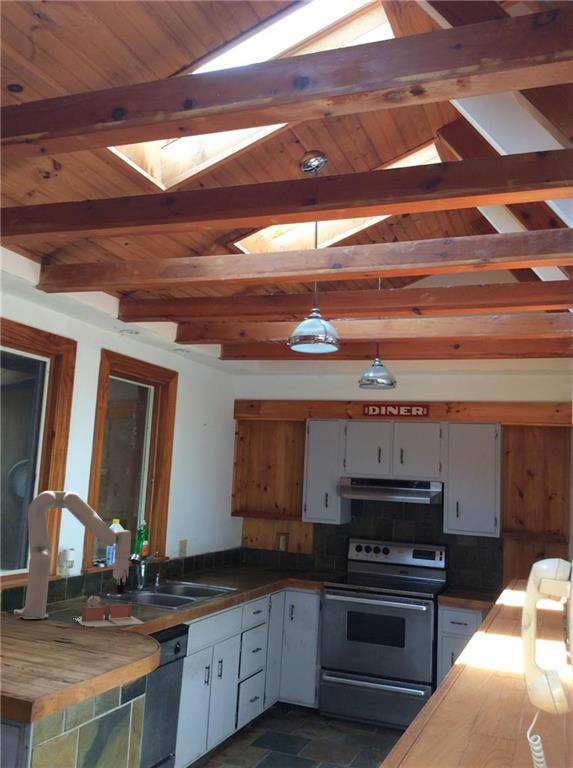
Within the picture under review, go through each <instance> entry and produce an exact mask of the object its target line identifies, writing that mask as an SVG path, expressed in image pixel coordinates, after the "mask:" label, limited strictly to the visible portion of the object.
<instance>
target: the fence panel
mask: <svg viewBox="0 0 573 768" xmlns="http://www.w3.org/2000/svg"><path fill="white" fill-rule="evenodd" d="M132 611H133V603H132V602H128V603H127V604H115V605H114V604H113V605H111V604H110V612H109V615H110V618H125V617H131V616H132Z"/></svg>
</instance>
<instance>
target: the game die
mask: <svg viewBox="0 0 573 768" xmlns="http://www.w3.org/2000/svg"><path fill="white" fill-rule="evenodd" d="M84 603H85V604H86V606H87V608H88V607H102V606H103V605H104V604H103V603H102V600H101V594H100V595H99V596H98V595H92V594H90V595H89V598H88V599H87V600H86V601H84Z"/></svg>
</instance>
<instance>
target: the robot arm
mask: <svg viewBox="0 0 573 768" xmlns="http://www.w3.org/2000/svg"><path fill="white" fill-rule="evenodd" d="M49 509H66V510H68V512H69V513H71V514H72V516H73V517H74V518H76V520H77V521H78V522H79V523H80V524H81V525H82V526H84V527H85V528H86V529H87V530H89V532H90V533H91V534H93V536H94V537H96V538H97V540H98V541H99V542H100V543H101V545H103V546H105V547H110V546H113V545H114V546H115V547H114V561H113V569H112V570H113V571H112V576H113V578H114V579H115V580H116V593H117V594H124V593H125V592H124V591H125V584H126V583H125V582H126V580H127V579H128V578H129V567H130V566H129V563H130V562H129V559H130V557H131V545H132V544H131V541H132V532H131V531H130V530H129V529H128V530H127V529H118V530H114V529H111V528H110V527H109V526H108V525H107V524H106V523H105V522H104V520H102V518H101V517H100V516H99V515H98V513H97V512H96V511H95V510H94V509H93V508H92V506H90V505H89V504H88V502H86V501H85V500H84V499H83V498H82V496H80V495H79V493H77V492H76V491H59V490H58V491H55V490H45V491H42V492H41V493H40V494H38V495H37V496H36V497H34V498H33V500H32V501H31V502H30V504H29V506H28V511H27V526H28V536H27V537H28V542H29V554H30V555H29V557H30V559H29V562H28V573H27V574H28V575H27V584H26V593H25V594H26V595H25V603H24V604H25V605H24V607H23V608H21V609H14V610H13V615H19V616H21V615H25V616H32V617H40V618H45V617H48V618H49V614H48V613H46V612H47V611H46V610H47V603H48V601H47V600H48V589H49V583H50V582H49V580H50V571H51V564H52V563H51V561H52V555H51V545H50V544H51V543H50V541H51V540H50V533H49V530H48V522H47V521H48V520H47V517H48V516H47V512H48V510H49Z"/></svg>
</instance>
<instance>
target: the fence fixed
mask: <svg viewBox="0 0 573 768" xmlns="http://www.w3.org/2000/svg"><path fill="white" fill-rule="evenodd" d="M81 610H82V611H81V612H82V613H81V617H82V620H81V621H91V620H103V618H104V615H105V620H108V619H109V615H110V613H111V604H110V603H106V604H105V606H100V607H87V605H84V606H83V605H82V609H81Z"/></svg>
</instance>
